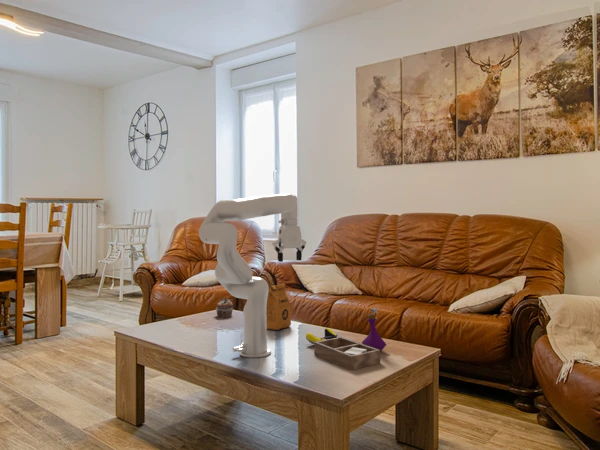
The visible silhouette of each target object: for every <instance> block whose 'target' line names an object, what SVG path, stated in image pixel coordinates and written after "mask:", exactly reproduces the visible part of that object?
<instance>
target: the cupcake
mask: <svg viewBox="0 0 600 450" xmlns="http://www.w3.org/2000/svg"><path fill="white" fill-rule="evenodd" d="M233 309H234V304H233V302H232V301H231V300H230V298H222V299H221V300H220V301H219V302H218V303H217V306H216V307H215V312H216V314H217V318H221V317H225V318H231V317H232V314H233Z"/></svg>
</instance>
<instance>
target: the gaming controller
mask: <svg viewBox="0 0 600 450" xmlns="http://www.w3.org/2000/svg"><path fill="white" fill-rule="evenodd" d="M338 337H340V335H339V334H336V333H335V332H334V331H333V330H332V329H331V328H329V327H327V328H324V337H323V336H322V337H318V336H316V335H314V334H313V333H312V332H307V333H306V334H305V339H306V340H307V341H308V342H309V343H310V344H312V345H314V342H317V341H323V340H328V339H333V338H338Z"/></svg>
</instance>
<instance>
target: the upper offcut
mask: <svg viewBox="0 0 600 450" xmlns="http://www.w3.org/2000/svg"><path fill="white" fill-rule="evenodd" d="M365 352H367V349H361V348H354V347H352V348H351V349H349V350H347V351H345V353H347V354H350V355H356V354H361V353H365Z"/></svg>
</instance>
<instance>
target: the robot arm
mask: <svg viewBox="0 0 600 450" xmlns="http://www.w3.org/2000/svg"><path fill="white" fill-rule="evenodd" d="M298 202H299V201H298V196H296V195H293V194H291V193H277V194H275V193H274V194H271V195H268V196H267V195H266V196H265V195H261V196H260V195H259V196H249V197H245V198H237V199H224V200H223V199H222V200H218V201H217V202H216V203H215V204H214V205H213V206H212V208H211V209H210V210H209V212H208V214H207V215H206V217H205V218H204V220H203V222H202V223H201V225H200V227H199V230H198V236H199V240H201V242H202V243H205V244H208V245H218V247H217V251H216V252H217V253H216V260H217V264H216V266H215V268H214V274H215V278H216V280H217V282H218V283H220V285H221V286H222V287H223V288H224V289H225V291H227V292H228V293H229V294H230V296H232V297H234V298H237V299H241V300H246V302H245V305H244V307H243V312H242V314H243V315H242V317H243V319H242V322H243V323H242V324H243V342H241V344H240V345H239V346H232V352H233V353H235V352H238V353H239V354H240V356H241V357H245V358H252V359H253V358H262V357H263V358H264V357H267V356H269V355H270V354H271V351H272V350H271V348H269V347H268V334H267V333H268V332H267V330H268V329H267V315H266V306H267V297H268V291H269V288H270V286H269V284H268V282H267V281H266V280H265V278H262V277H260V276H254V275H253V274H254V273H253V270H252V268H251V267H250V265H249V264H248V262H246V260H245V259H244V258H243V257H242V256H241V254H240V253H239V252H238V250H237V243H238V236H239V232H238V228H237V227H236V226H235V225H234V224H233V223H230V222H239V221H245V220H248V219H249V220H250V219H255V218H260V217H267V216H273V215H279V214H280V220H278V224H280V225H279V228H278V229H279V230H278V236H277V237H278V239H277V240H274V241H273V242H272V243H271V245H272V247H273V249H274V250H275V252H276V254H277V260H278V261H277V262H279V263H282V262H283V261H284V252H283V251H284V250H285V249H296V253H295V255H296V258H295V259H296V261H302V257H303V256H302V255H303V250H304V249H305V248H306V245H307V241H306V240H305V239H302V230H301V227H300V225H299V222H298V221H299V217H298V215H299V214H298V213H299V212H298V211H299V210H298ZM277 245H278V246H277Z"/></svg>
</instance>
